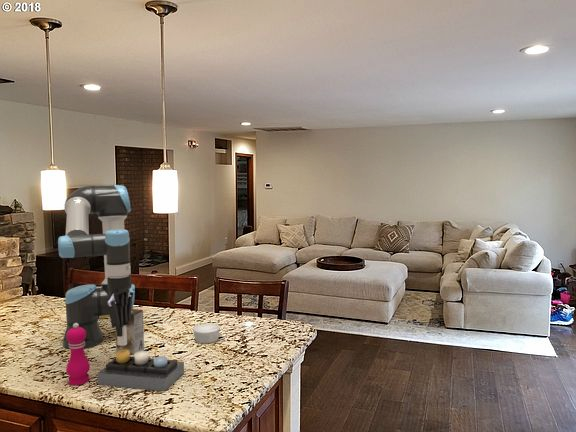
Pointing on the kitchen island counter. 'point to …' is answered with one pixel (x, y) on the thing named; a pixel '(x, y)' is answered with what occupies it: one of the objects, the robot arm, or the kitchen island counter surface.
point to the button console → (141, 374)
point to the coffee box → (134, 333)
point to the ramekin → (206, 333)
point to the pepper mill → (77, 356)
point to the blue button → (160, 362)
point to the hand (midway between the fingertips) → (122, 344)
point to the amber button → (122, 356)
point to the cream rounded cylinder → (141, 358)
